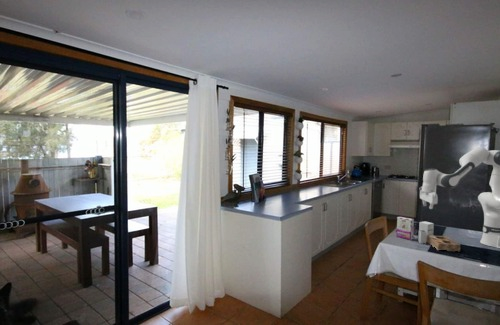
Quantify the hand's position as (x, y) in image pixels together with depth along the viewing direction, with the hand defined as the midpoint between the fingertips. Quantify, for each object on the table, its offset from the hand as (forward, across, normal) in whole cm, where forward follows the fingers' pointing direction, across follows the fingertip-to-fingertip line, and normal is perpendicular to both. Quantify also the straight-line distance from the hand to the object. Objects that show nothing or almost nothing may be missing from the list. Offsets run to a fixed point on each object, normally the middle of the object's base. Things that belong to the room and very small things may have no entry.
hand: (427, 207), depth 202 cm
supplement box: (+28, +11, -6) cm, 30 cm away
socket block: (+27, -7, -9) cm, 29 cm away
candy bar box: (+28, +8, +11) cm, 32 cm away
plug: (+28, -1, +2) cm, 28 cm away
